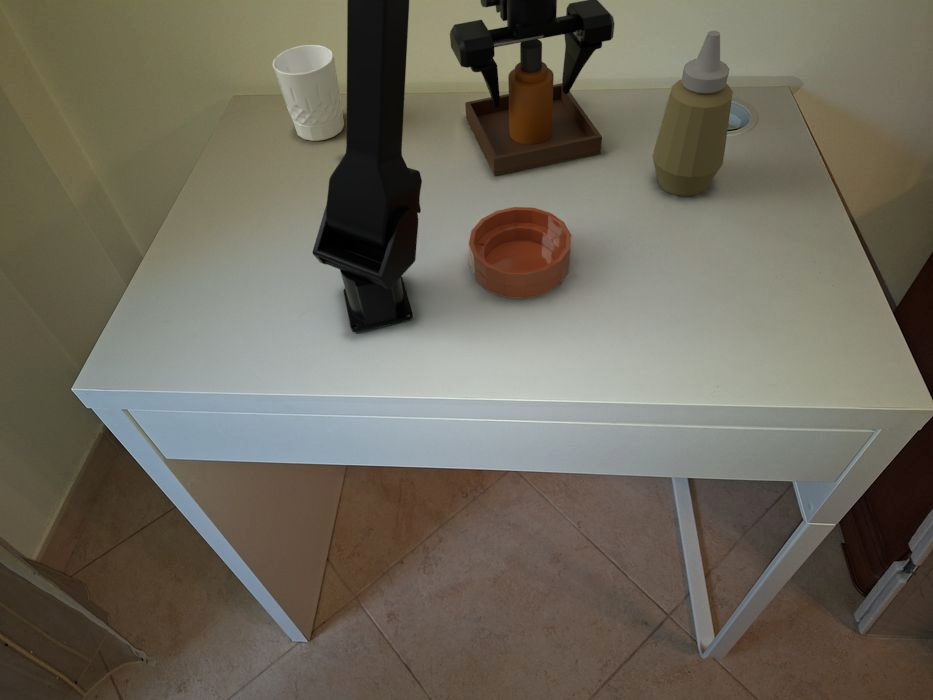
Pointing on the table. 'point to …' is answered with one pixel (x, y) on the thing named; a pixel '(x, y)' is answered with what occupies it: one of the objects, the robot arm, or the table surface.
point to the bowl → (520, 252)
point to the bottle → (530, 96)
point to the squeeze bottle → (695, 124)
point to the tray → (506, 155)
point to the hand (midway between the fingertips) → (531, 99)
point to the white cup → (310, 90)
